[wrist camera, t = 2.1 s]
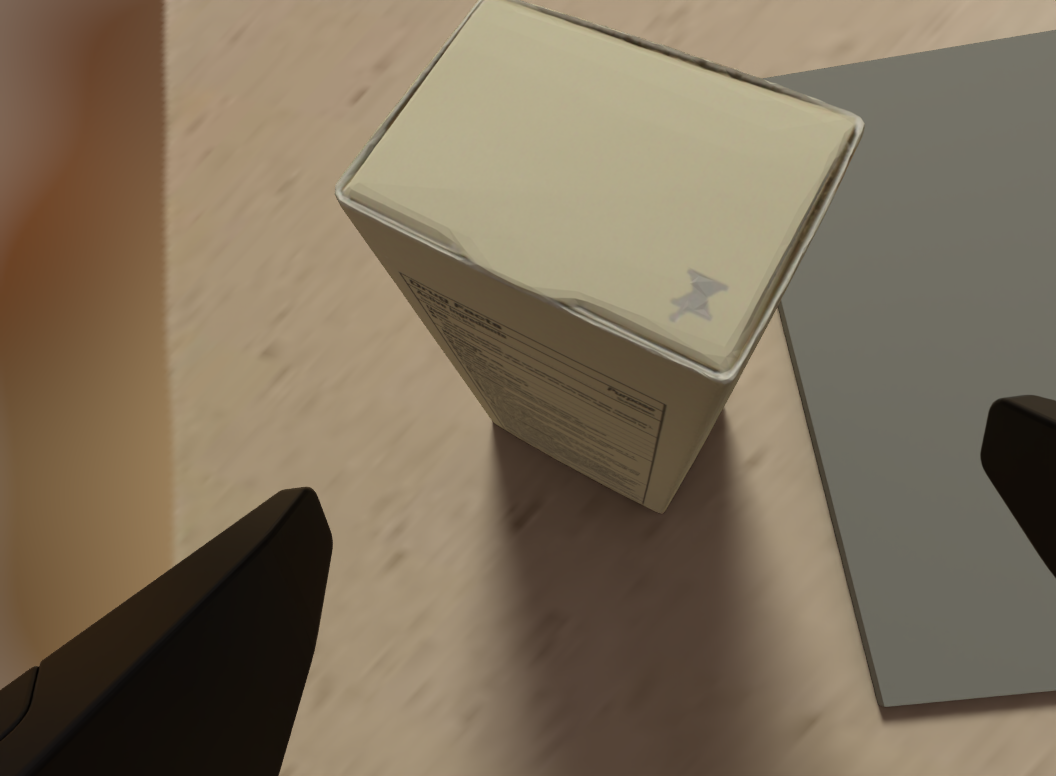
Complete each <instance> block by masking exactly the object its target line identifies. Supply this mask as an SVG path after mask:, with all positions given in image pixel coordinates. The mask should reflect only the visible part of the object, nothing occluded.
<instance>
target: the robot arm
mask: <svg viewBox="0 0 1056 776" xmlns="http://www.w3.org/2000/svg"><path fill="white" fill-rule="evenodd" d="M980 458H981V464H982V467H983V469H984V471H985V473H986V475H987V476H988V478H989V479H990V481H991V483H992V484H993V486H994V487H995V489H996V490H997V492H998V493H999V495H1000V496H1001V498H1002V499H1003V501H1004V503H1005V504H1006V506H1007V507H1008V509H1009V510H1010V512H1011V513H1012V515H1013V516H1014V518H1015V519H1016V521H1017V523H1018V524H1019V526H1020V527H1021V529H1022V530H1023V532H1024V533H1025V535H1026V536H1027V538H1028V539H1029V541H1030V543H1031V544H1032V546H1033V547H1034V549H1035V550H1036V552H1037V553H1038V555H1039V556H1040V558H1041V559H1042V560H1043V562H1044V563H1045V565H1046V566H1047V568H1048V569H1049V570H1050V572H1051V573H1052V574H1053V576H1054V577H1055V578H1056V400H1052V399H1048V398H1044V397H1040V396H1036V395H1020V396H1012V397H1005V398H999V399H997V400H996V401H994V402H993V403H992V405H991V406H990V409H989V412H988V417H987V422H986V427H985V431H984V436H983V441H982V446H981V452H980ZM332 549H333V540H332V534H331V531H330V528H329V525H328V523H327V520H326V517H325V515H324V512H323V509H322V507H321V504H320V501H319V499H318V496H317V494H316V492H315V491H314V490H313V489H312V488H310V487H300V488H292V489H284V490H281V491H279V492H278V493H276V494H275V495H274V496H272V497H271V498H269V499H268V500H267V501H265V502H264V503H262V504H261V505H260V506H258V507H257V508H255V509H254V510H253V511H251V512H250V513H248V514H247V515H246V516H244V517H243V518H241V519H240V520H239V521H237V522H236V523H234V524H233V525H232V526H230V527H229V528H227V529H226V530H225V531H223V532H222V533H220V534H219V535H218V536H216V537H215V538H213V539H212V540H211V541H209V542H208V543H206V544H205V545H204V546H202V547H201V548H199V549H198V550H196V551H195V552H194V553H192V554H191V555H189V556H188V557H187V558H185V559H184V560H182V561H181V562H180V563H178V564H177V565H175V566H174V567H173V568H171V569H170V570H168V571H167V572H166V573H164V574H163V575H161V576H160V577H159V578H157V579H156V580H154V581H153V582H152V583H150V584H149V585H147V586H146V587H145V588H143V589H142V590H140V591H139V592H138V593H136V594H135V595H133V596H132V597H131V598H129V599H128V600H126V601H125V602H124V603H122V604H121V605H119V606H118V607H117V608H115V609H114V610H112V611H111V612H109V613H108V614H107V615H105V616H104V617H103V618H101V619H100V620H98V621H97V622H95V623H94V624H93V625H91V626H90V627H88V628H87V629H86V630H84V631H83V632H81V633H80V634H79V635H77V636H76V637H74V638H73V639H72V640H70V641H69V642H67V643H66V644H65V645H63V646H62V647H61V648H59V649H58V650H56V651H55V652H53V653H52V654H51V655H50V656H48V657H46V658H45V659H44V660H42V661H41V663H40V666H39V667H37V666H34V667H32V668H31V669H29V670H28V671H26V672H25V673H24V674H22V675H21V676H19V677H18V678H17V679H15V680H14V681H12V682H11V683H10V684H8V685H7V686H5V687H4V688H3V689H2V690H0V776H279V772H280V769H281V766H282V762H283V759H284V755H285V752H286V748H287V745H288V741H289V738H290V735H291V731H292V728H293V724H294V721H295V717H296V714H297V711H298V707H299V704H300V700H301V697H302V693H303V690H304V687H305V683H306V680H307V676H308V673H309V669H310V666H311V662H312V658H313V654H314V651H315V646H316V641H317V636H318V631H319V625H320V620H321V614H322V608H323V602H324V596H325V590H326V585H327V579H328V573H329V567H330V561H331V556H332Z"/></svg>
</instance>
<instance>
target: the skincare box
mask: <svg viewBox="0 0 1056 776" xmlns="http://www.w3.org/2000/svg"><path fill="white" fill-rule="evenodd" d="M864 129H865V123H864V122H863V120H862V119H861V117H859V116H857V115H855V114H854V113H852V112H850V111H847V110H844V109H841V108H838V107H835V106H832V105H830V104H827V103H825V102H823V101H821V100H819V99H817V98H813V97H810V96H807V95H804V94H802V93H799V92H796V91H793V90H790V89H788V88H786V87H783V86H781V85H779V84H776V83H772V82H769V81H766V80H764V79H761V78H759V77H756V76H753V75H750V74H747V73H743V72H741V71H740V70H737V69H734V68H730V67H727V66H723V65H721V64H718V63H715V62H713V61H710V60H707V59H704V58H701V57H697V56H693V55H690V54H688V53H685V52H682V51H679V50H677V49H674V48H671V47H668V46H665V45H662V44H658V43H655V42H652V41H649V40H646V39H643V38H640V37H637V36H634V35H631V34H628V33H624V32H621V31H618V30H616V29H612V28H609V27H607V26H603V25H599V24H596V23H593V22H590V21H587V20H584V19H581V18H578V17H575V16H571V15H568V14H564V13H561V12H557V11H554V10H551V9H548V8H545V7H542V6H538V5H534V4H530V3H527V2H524V1H521V0H477V2H476V3H475V4H474V6H473V7H472V8H471V10H470V11H469V12H468V14H467V15H466V16H465V18H464V19H463V20H462V22H461V23H460V24H459V26H458V27H457V28H456V29H455V30H454V32H453V33H452V34H451V35H450V36H449V38H448V39H447V40H446V41H445V42H444V44H443V45H442V46H441V48H440V49H439V50H438V52H437V53H436V54H435V55H434V57H433V58H432V59H431V60H430V62H429V63H428V64H427V66H426V67H425V68H424V69H423V70H422V71H421V72H420V74H419V75H418V76H417V78H416V79H415V81H414V82H413V83H412V84H411V86H410V87H409V88H408V90H407V91H406V93H405V94H404V95H403V97H402V98H401V99H400V101H399V102H398V103H397V105H396V106H395V107H394V108H393V109H392V111H391V112H390V113H389V114H388V116H387V117H386V119H385V120H384V121H383V122H382V123H381V125H380V126H379V127H378V128H377V130H376V131H375V132H374V134H373V135H372V136H371V138H370V139H369V141H368V142H367V143H366V145H365V146H364V147H363V149H362V150H361V151H360V153H359V154H358V155H357V156H356V158H355V159H354V160H353V162H352V163H351V164H350V166H349V167H348V168H347V169H346V171H345V172H344V173H343V175H342V176H341V177H340V179H339V180H338V181H337V183H336V187H335V196H336V198H337V200H338V202H339V204H340V206H341V207H342V209H343V210H344V212H345V213H346V214H347V216H348V217H349V219H350V220H351V221H352V223H353V224H354V226H355V227H356V228H357V230H358V231H359V233H360V234H361V236H362V237H363V238H364V240H365V241H366V243H367V244H368V245H369V247H370V248H371V250H372V251H373V252H374V254H375V255H376V257H377V258H378V259H379V261H380V262H381V264H382V265H383V266H384V268H385V269H386V271H387V272H388V273H389V275H390V276H391V278H392V279H393V281H394V282H395V283H396V285H397V286H398V288H399V289H400V290H401V292H402V293H403V295H404V296H405V297H406V299H407V300H408V302H409V303H410V305H411V306H412V308H413V309H414V310H415V312H416V313H417V315H418V316H419V318H420V319H421V320H422V322H423V323H424V325H425V326H426V328H427V329H428V330H429V332H430V333H431V335H432V336H433V337H434V339H435V340H436V342H437V343H438V344H439V346H440V347H441V349H442V350H443V351H444V353H445V354H446V356H447V357H448V358H449V360H450V361H451V363H452V364H453V366H454V367H455V368H456V370H457V371H458V373H459V374H460V376H461V377H462V378H463V380H464V381H465V383H466V384H467V385H468V387H469V388H470V390H471V391H472V393H473V394H474V395H475V397H476V398H477V400H478V401H479V403H480V404H481V405H482V407H483V408H484V410H485V411H486V413H487V414H488V415H489V417H490V418H491V420H492V421H493V422H494V423H495V424H497V425H498V426H500V427H501V428H503V429H505V430H506V431H508V432H510V433H511V434H513V435H515V436H516V437H518V438H520V439H521V440H523V441H525V442H527V443H528V444H530V445H532V446H534V447H535V448H537V449H539V450H541V451H542V452H544V453H546V454H547V455H549V456H551V457H553V458H555V459H556V460H558V461H560V462H562V463H564V464H566V465H567V466H569V467H571V468H573V469H575V470H577V471H578V472H580V473H582V474H584V475H586V476H588V477H589V478H591V479H593V480H595V481H597V482H599V483H601V484H603V485H604V486H606V487H608V488H610V489H612V490H614V491H616V492H618V493H620V494H622V495H624V496H626V497H628V498H629V499H631V500H634V501H636V502H638V503H640V504H642V505H643V506H645V507H647V508H649V509H651V510H653V511H655V512H658V513H664V512H665V511H666V509H667V507H668V505H669V504H670V502H671V500H672V499H673V497H674V495H675V493H676V492H677V490H678V488H679V486H680V485H681V483H682V481H683V479H684V478H685V476H686V474H687V472H688V471H689V469H690V467H691V466H692V464H693V462H694V460H695V459H696V457H697V455H698V453H699V451H700V450H701V448H702V446H703V444H704V443H705V441H706V439H707V437H708V435H709V433H710V432H711V430H712V428H713V426H714V424H715V422H716V420H717V418H718V416H719V414H720V413H721V411H722V409H723V407H724V406H725V404H726V402H727V400H728V398H729V397H730V395H731V393H732V391H733V389H734V387H735V386H736V384H737V382H738V380H739V378H740V376H741V374H742V372H743V370H744V368H745V367H746V365H747V363H748V361H749V359H750V357H751V355H752V353H753V352H754V350H755V348H756V346H757V344H758V342H759V340H760V339H761V337H762V335H763V333H764V331H765V329H766V328H767V326H768V324H769V322H770V320H771V318H772V316H773V314H774V312H775V310H776V309H777V307H778V305H779V303H780V301H781V299H782V297H783V295H784V293H785V291H786V289H787V287H788V285H789V284H790V282H791V280H792V278H793V276H794V274H795V272H796V270H797V268H798V266H799V264H800V262H801V260H802V258H803V257H804V255H805V253H806V251H807V249H808V247H809V245H810V243H811V241H812V239H813V237H814V235H815V233H816V232H817V230H818V228H819V226H820V224H821V222H822V220H823V218H824V216H825V214H826V212H827V210H828V208H829V206H830V204H831V202H832V200H833V197H834V195H835V193H836V191H837V189H838V187H839V185H840V183H841V181H842V179H843V177H844V174H845V172H846V170H847V168H848V166H849V163H850V161H851V159H852V157H853V155H854V153H855V151H856V149H857V147H858V145H859V142H860V140H861V138H862V136H863V133H864Z"/></svg>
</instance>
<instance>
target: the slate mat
mask: <svg viewBox="0 0 1056 776" xmlns="http://www.w3.org/2000/svg"><path fill="white" fill-rule="evenodd" d="M763 79H764V80H766V81H769V82H772V83H776V84H779V85H781V86H783V87H786V88H788V89H790V90H793V91H796V92H799V93H802V94H804V95H807V96H810V97H813V98H817V99H819V100H821V101H823V102H825V103H827V104H830V105H832V106H835V107H838V108H841V109H844V110H847V111H850V112H852V113H854V114H855V115H857V116H859V117H861V119H862V120H863V122H864V123H865V129H864V133H863V136H862V138H861V140H860V142H859V145H858V147H857V149H856V151H855V153H854V155H853V157H852V159H851V161H850V163H849V166H848V168H847V170H846V172H845V174H844V177H843V179H842V181H841V183H840V185H839V187H838V189H837V191H836V193H835V195H834V197H833V200H832V202H831V204H830V206H829V208H828V210H827V212H826V214H825V216H824V218H823V220H822V222H821V224H820V226H819V228H818V230H817V232H816V233H815V235H814V237H813V239H812V241H811V243H810V245H809V247H808V249H807V251H806V253H805V255H804V257H803V258H802V260H801V262H800V264H799V266H798V268H797V270H796V272H795V274H794V276H793V278H792V280H791V282H790V284H789V285H788V287H787V289H786V291H785V293H784V295H783V297H782V299H781V301H780V303H779V305H778V308H779V312H780V316H781V320H782V324H783V328H784V332H785V336H786V340H787V344H788V348H789V352H790V356H791V360H792V364H793V368H794V372H795V376H796V380H797V384H798V388H799V392H800V396H801V400H802V404H803V407H804V411H805V415H806V419H807V423H808V427H809V431H810V435H811V439H812V443H813V447H814V451H815V455H816V459H817V463H818V467H819V471H820V475H821V479H822V483H823V487H824V491H825V495H826V499H827V503H828V507H829V511H830V515H831V519H832V523H833V527H834V531H835V535H836V538H837V542H838V546H839V550H840V554H841V558H842V562H843V566H844V570H845V574H846V578H847V582H848V586H849V590H850V594H851V598H852V602H853V606H854V610H855V614H856V618H857V622H858V626H859V630H860V634H861V638H862V642H863V646H864V650H865V654H866V658H867V662H868V666H869V670H870V673H871V677H872V681H873V685H874V689H875V693H876V697H877V701H878V705H881V706H883V707H890V706H900V705H911V704H921V703H931V702H942V701H952V700H962V699H973V698H983V697H993V696H1004V695H1014V694H1024V693H1035V692H1045V691H1055V690H1056V578H1055V577H1054V576H1053V574H1052V573H1051V572H1050V570H1049V569H1048V568H1047V566H1046V565H1045V563H1044V562H1043V560H1042V559H1041V558H1040V556H1039V555H1038V553H1037V552H1036V550H1035V549H1034V547H1033V546H1032V544H1031V543H1030V541H1029V539H1028V538H1027V536H1026V535H1025V533H1024V532H1023V530H1022V529H1021V527H1020V526H1019V524H1018V523H1017V521H1016V519H1015V518H1014V516H1013V515H1012V513H1011V512H1010V510H1009V509H1008V507H1007V506H1006V504H1005V503H1004V501H1003V499H1002V498H1001V496H1000V495H999V493H998V492H997V490H996V489H995V487H994V486H993V484H992V483H991V481H990V479H989V478H988V476H987V475H986V473H985V471H984V469H983V467H982V464H981V458H980V452H981V446H982V441H983V436H984V431H985V427H986V422H987V417H988V412H989V409H990V406H991V405H992V403H993V402H994V401H996V400H997V399H999V398H1005V397H1012V396H1020V395H1036V396H1040V397H1044V398H1048V399H1052V400H1056V30H1052V31H1046V32H1040V33H1034V34H1028V35H1022V36H1016V37H1010V38H1004V39H998V40H992V41H986V42H980V43H974V44H968V45H962V46H956V47H950V48H944V49H938V50H932V51H926V52H920V53H914V54H908V55H902V56H896V57H889V58H883V59H877V60H871V61H865V62H859V63H853V64H847V65H841V66H835V67H829V68H823V69H817V70H811V71H805V72H799V73H793V74H787V75H781V76H775V77H769V78H763Z"/></svg>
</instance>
